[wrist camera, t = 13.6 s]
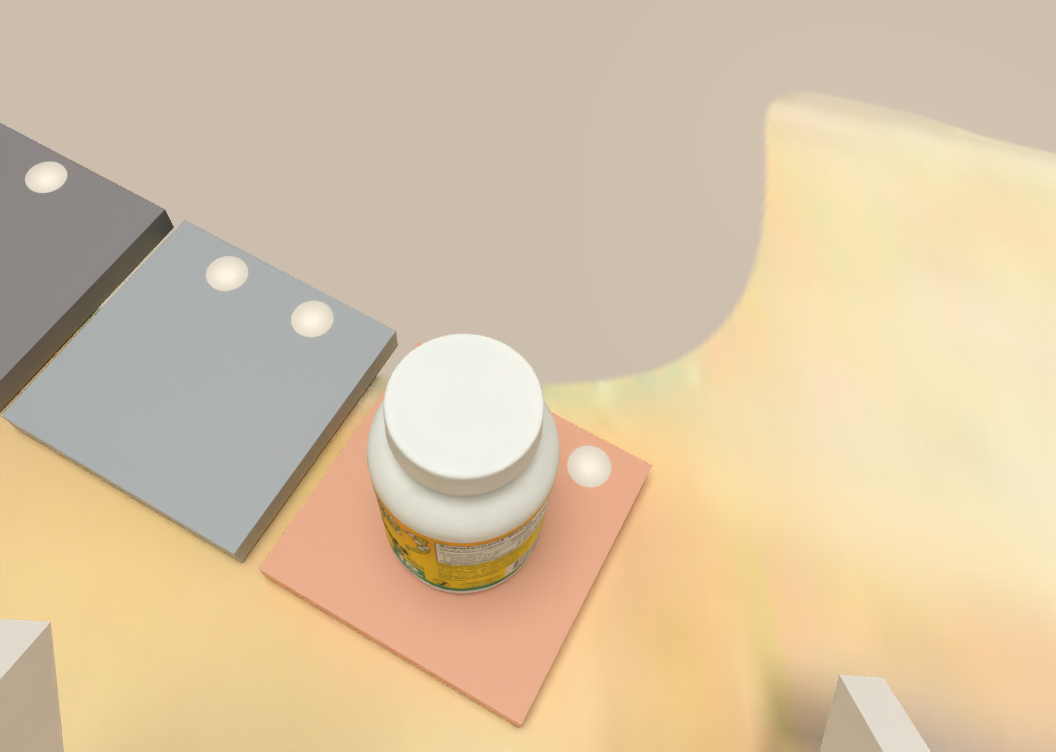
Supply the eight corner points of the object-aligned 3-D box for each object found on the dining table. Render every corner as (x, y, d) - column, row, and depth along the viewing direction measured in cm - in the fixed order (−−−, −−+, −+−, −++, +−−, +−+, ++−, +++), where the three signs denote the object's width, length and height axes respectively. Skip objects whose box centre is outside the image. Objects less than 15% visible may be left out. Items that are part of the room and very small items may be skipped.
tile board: (-206, 296, 32) (-230, 278, 31) (-12, 129, 36) (-27, 108, 35) (518, 727, 27) (521, 724, 26) (645, 476, 32) (652, 465, 30)
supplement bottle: (553, 582, 28) (594, 491, 20) (394, 609, 27) (365, 527, 19) (524, 436, 31) (550, 298, 22) (377, 457, 30) (345, 323, 21)
